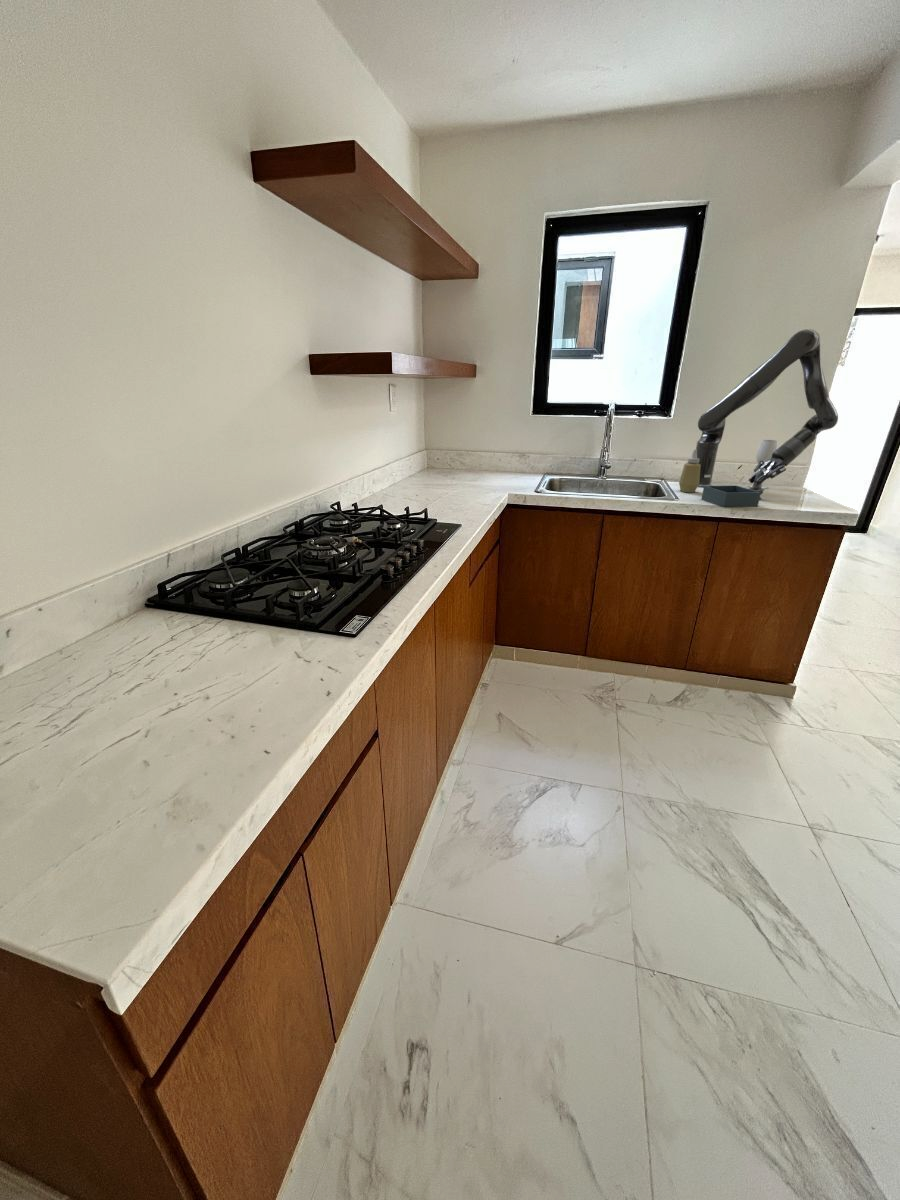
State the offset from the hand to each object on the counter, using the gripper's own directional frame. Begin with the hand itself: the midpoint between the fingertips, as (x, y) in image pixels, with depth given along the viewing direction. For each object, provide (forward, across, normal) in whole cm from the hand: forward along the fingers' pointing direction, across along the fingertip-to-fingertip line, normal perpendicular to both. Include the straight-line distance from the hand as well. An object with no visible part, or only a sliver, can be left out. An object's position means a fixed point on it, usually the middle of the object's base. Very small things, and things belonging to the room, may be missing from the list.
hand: (753, 482), depth 206 cm
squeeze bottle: (+17, -17, -8) cm, 26 cm away
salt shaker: (+3, 0, +6) cm, 7 cm away
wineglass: (-10, -25, +20) cm, 34 cm away
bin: (+15, +7, -5) cm, 17 cm away
